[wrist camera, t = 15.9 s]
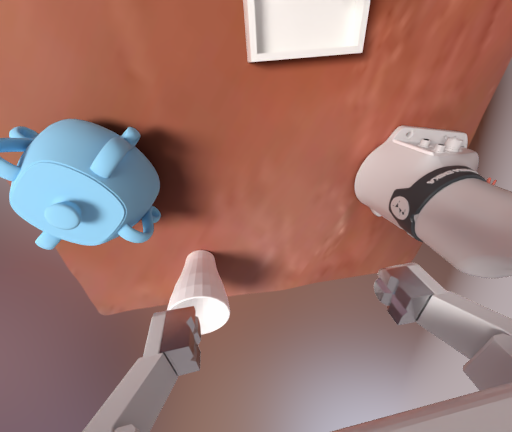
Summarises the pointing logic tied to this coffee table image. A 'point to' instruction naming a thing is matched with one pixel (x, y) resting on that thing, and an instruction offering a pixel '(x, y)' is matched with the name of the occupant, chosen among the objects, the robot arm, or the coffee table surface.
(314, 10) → the tray
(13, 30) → the coffee table surface
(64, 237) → the decorative pot
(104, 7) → the coffee table surface
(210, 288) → the cup
